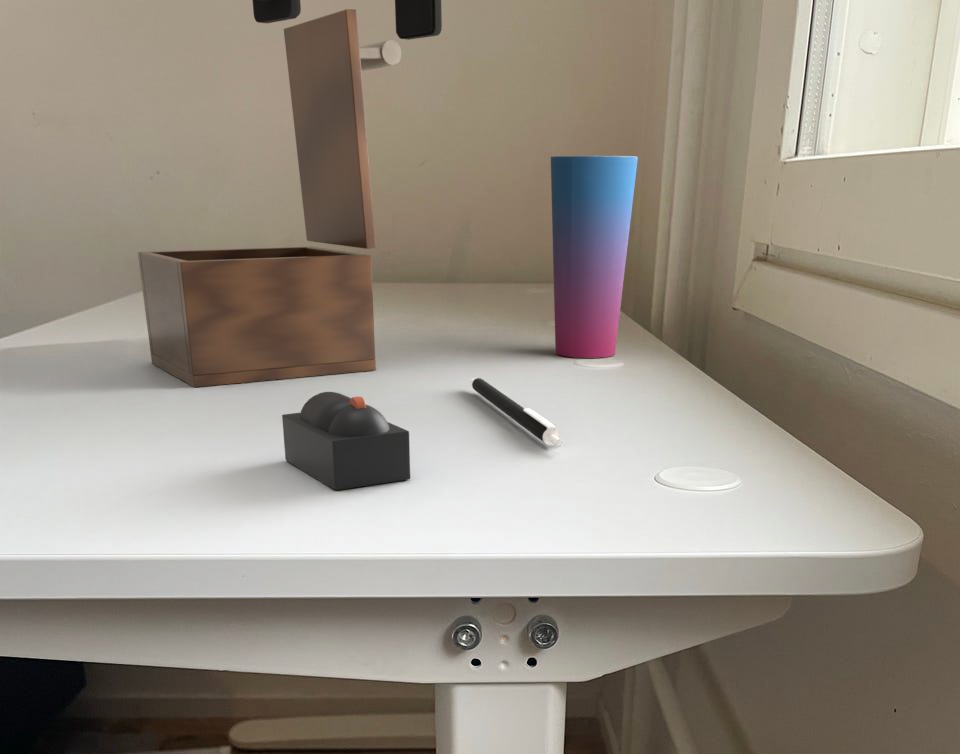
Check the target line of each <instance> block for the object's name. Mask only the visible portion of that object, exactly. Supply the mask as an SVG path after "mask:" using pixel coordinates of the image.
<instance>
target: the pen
mask: <svg viewBox="0 0 960 754" xmlns="http://www.w3.org/2000/svg"><path fill="white" fill-rule="evenodd" d="M470 382H471V387H472V389H473V390H474V391H475V392H476V393H478V394H479V395H481V396H482V397H483V398H484V399H486V400H487V401H488V402H490V403H491V404H492V405H494V406H495V407H496V408H497V409H499V410H500V411H502V412H503V413H504V414H506V415H507V416H509V417H510V419H512V420H514V421H515V422H516V423H518V424H519V425H520V426H521V427H523V428H524V429H525V430H527V431H528V432H529V433H531V434H532V435H534V436H535V438H537V439H539V440H540V441H542V442H543V443H544V444H546V445H547V446H551V447H552V446H554V445H555V446H556V447H561V446H562V445H563V441H562V439H560V433H559V432H558V431H557V427H556V426H555V425H554V424H553V423H552V422H550V421H549V420H547V419H546V418H545V417H543V416H542V415H541V414H539V413H538V412H536V411H534V409H531V408H528V407H526V408H525V407H524V406H521V405H520V404H518V403H517V402H515V401H514V400H513V399H511V398H510V397H509V396H507V395H506V394H504V393H503V392H501V391H500V390H499V389H497V388H496V387H494V385H491V384H490V383H489V382H487V381H485V380H484V379H483V378H481V377H475V378H471V379H470Z"/></svg>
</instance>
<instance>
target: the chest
mask: <svg viewBox="0 0 960 754" xmlns="http://www.w3.org/2000/svg"><path fill="white" fill-rule="evenodd" d="M137 256H138V265H139V274H140V280H141V281H140V283H141V288H142V289H141V290H142V296H143V297H142V298H143V304H144V311H145V320H146V327H147V337H148V344H149V352H150V359H151V364H152V365H154V366H156V367H158V368H159V369H161V370H162V371H165V372H167V373H168V374H170V375H172V376H173V377H175V378H177V379H178V380H180V381H183V382H185V383H186V384H188V385H189V386H192V387H193V388H203V387H214V386H223V385H233V384H234V385H235V384H244V383H245V384H246V383H255V382H265V381H276V380H277V381H278V380H286V379H296V378H307V377H308V378H309V377H318V376H330V375H339V374H350V373H359V372H362V373H363V372H371V371H376V370H377V363H376V361H377V360H376V342H375V341H376V340H375V338H376V337H375V316H374V315H375V314H374V290H373V266H372V265H373V264H372V263H373V262H372V261H373V259H372V255H371V254H366V253H360V252H353V251H345V250H337V249H332V248H331V249H330V248H323V247H317V246H283V247H282V246H281V247H255V248H254V247H251V248H247V247H246V248H221V249H219V248H218V249H217V248H216V249H187V250H185V249H183V250H155V251H153V250H152V251H138V252H137Z"/></svg>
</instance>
